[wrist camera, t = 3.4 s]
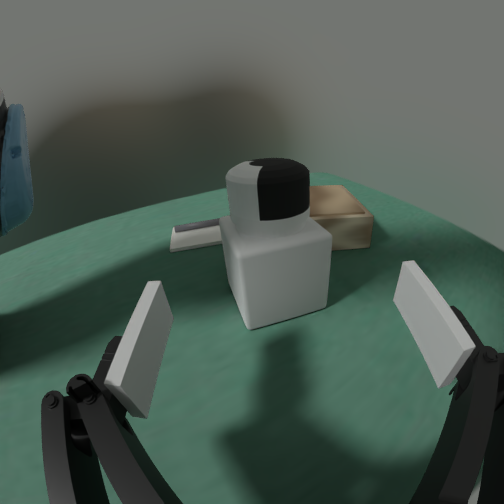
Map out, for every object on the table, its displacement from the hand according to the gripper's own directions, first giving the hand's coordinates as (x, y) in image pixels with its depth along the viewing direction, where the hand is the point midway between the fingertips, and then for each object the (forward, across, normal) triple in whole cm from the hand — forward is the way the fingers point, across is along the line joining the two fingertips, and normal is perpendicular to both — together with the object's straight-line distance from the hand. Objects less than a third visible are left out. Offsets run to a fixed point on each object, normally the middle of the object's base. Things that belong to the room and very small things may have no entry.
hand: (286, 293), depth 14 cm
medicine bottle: (+8, 0, -7) cm, 11 cm away
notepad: (+22, -8, -8) cm, 25 cm away
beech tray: (+21, +6, -7) cm, 23 cm away
